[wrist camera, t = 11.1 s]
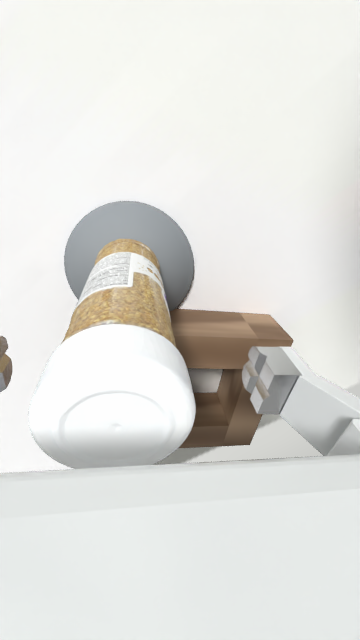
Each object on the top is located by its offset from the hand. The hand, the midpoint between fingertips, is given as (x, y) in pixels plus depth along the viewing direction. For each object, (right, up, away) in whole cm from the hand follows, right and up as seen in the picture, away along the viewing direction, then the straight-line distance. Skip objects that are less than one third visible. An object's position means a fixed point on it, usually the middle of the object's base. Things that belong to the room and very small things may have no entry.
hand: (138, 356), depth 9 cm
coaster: (-2, +5, +10) cm, 11 cm away
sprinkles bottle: (-2, +5, +10) cm, 11 cm away
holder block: (+3, -3, +15) cm, 16 cm away
